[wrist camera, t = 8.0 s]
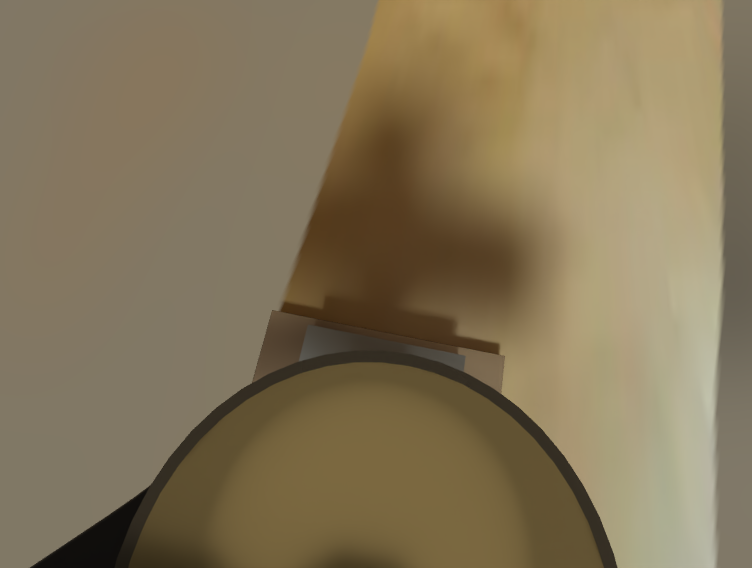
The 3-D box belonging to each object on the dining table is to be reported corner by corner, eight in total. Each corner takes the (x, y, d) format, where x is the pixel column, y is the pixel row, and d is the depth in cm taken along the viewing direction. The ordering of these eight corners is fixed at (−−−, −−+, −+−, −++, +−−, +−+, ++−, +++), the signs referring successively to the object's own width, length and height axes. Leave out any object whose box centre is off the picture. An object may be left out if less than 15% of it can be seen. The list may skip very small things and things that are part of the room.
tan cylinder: (409, 494, 14) (630, 1086, 2) (312, 474, 14) (-4, 918, 2) (424, 393, 15) (632, 398, 3) (334, 374, 16) (198, 312, 3)
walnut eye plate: (454, 786, 17) (471, 865, 15) (165, 715, 18) (126, 777, 15) (499, 357, 23) (517, 352, 20) (276, 313, 23) (262, 302, 21)
